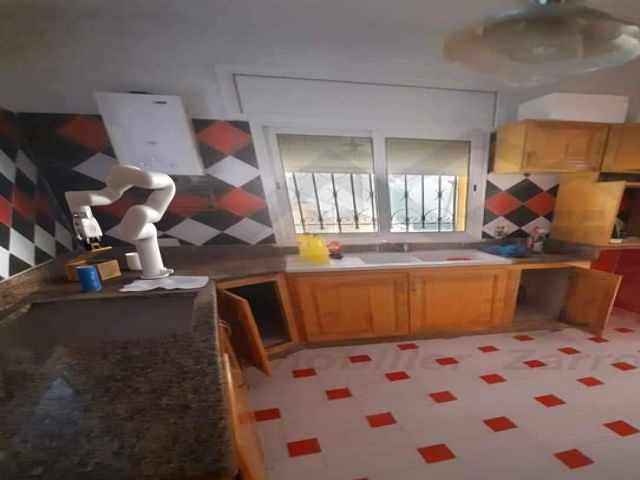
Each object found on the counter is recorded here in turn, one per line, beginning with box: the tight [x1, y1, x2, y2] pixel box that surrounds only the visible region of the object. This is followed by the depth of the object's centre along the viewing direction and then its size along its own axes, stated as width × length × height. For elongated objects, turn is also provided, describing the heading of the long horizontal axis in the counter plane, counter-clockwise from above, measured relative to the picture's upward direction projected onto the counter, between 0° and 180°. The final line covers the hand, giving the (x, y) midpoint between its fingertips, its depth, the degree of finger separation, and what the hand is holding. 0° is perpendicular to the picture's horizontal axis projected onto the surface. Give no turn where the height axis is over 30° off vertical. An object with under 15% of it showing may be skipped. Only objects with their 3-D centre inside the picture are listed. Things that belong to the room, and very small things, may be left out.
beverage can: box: [76, 265, 102, 293], centre depth 154 cm, size 6×6×12 cm
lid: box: [62, 242, 112, 266], centre depth 174 cm, size 17×13×5 cm
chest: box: [63, 259, 122, 282], centre depth 177 cm, size 17×13×9 cm
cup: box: [124, 252, 142, 271], centre depth 198 cm, size 10×10×10 cm
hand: (94, 249), depth 174 cm, fingers closed on lid, 5 cm apart
